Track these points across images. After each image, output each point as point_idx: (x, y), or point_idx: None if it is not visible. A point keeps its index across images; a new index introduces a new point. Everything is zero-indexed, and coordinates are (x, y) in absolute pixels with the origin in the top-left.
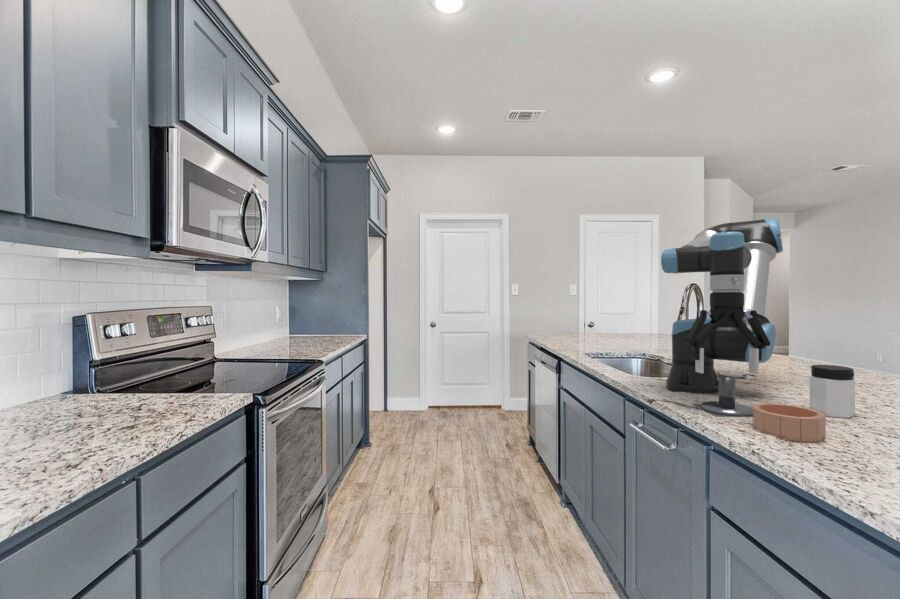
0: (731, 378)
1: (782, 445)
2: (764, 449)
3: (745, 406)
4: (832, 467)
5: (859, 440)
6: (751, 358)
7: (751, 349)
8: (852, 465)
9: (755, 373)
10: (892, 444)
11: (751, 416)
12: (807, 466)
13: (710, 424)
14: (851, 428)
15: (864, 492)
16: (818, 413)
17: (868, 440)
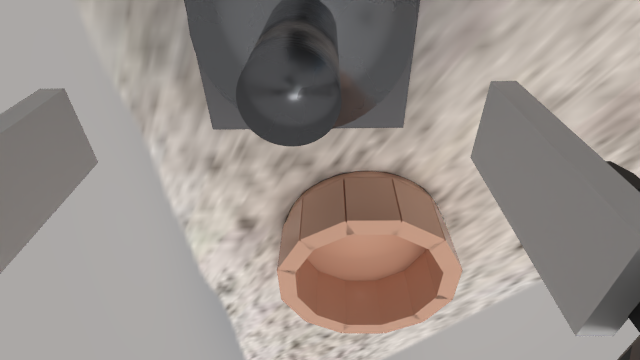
0: (297, 143)
1: None
2: (238, 308)
3: (403, 17)
4: (304, 352)
5: (491, 268)
6: (538, 186)
7: (599, 266)
8: (342, 347)
9: (471, 158)
10: (535, 283)
11: (350, 123)
12: (268, 351)
13: (177, 180)
14: None
15: None
16: (432, 304)
17: (513, 267)
